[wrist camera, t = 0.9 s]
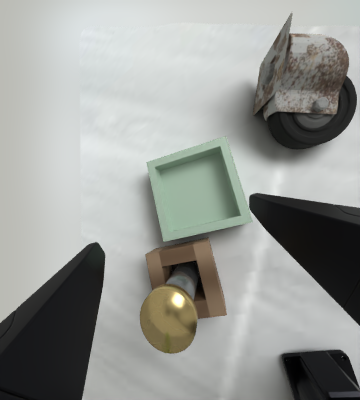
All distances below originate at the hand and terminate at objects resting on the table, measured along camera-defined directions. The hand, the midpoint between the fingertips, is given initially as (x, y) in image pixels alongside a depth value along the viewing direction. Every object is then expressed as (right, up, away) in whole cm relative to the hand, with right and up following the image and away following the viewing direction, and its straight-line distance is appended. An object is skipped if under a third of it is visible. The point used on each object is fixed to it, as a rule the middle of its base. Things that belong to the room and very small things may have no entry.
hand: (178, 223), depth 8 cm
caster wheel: (+15, +13, +12) cm, 24 cm away
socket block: (+1, -9, +12) cm, 15 cm away
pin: (+1, -9, +12) cm, 15 cm away
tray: (+3, +2, +13) cm, 14 cm away
